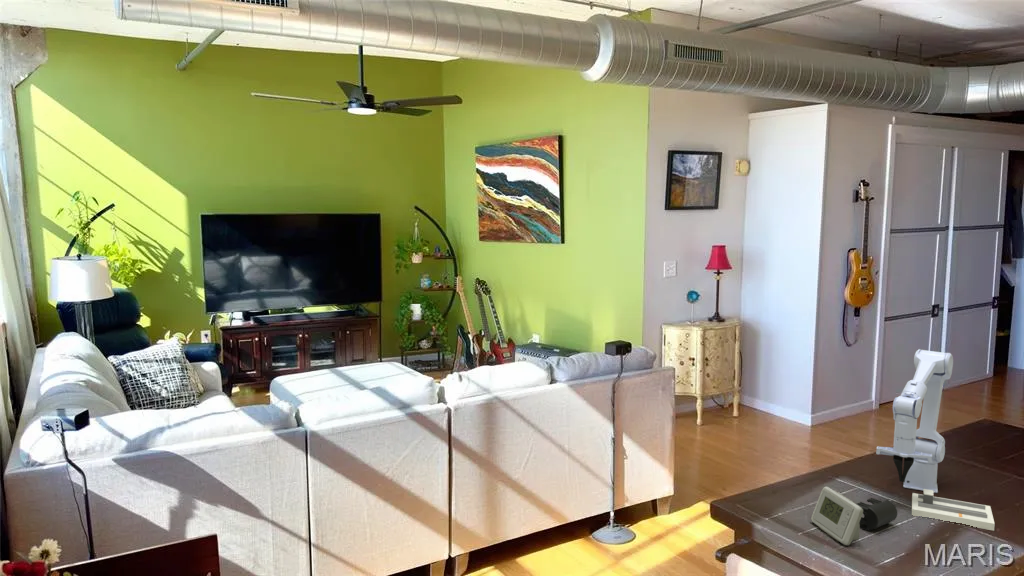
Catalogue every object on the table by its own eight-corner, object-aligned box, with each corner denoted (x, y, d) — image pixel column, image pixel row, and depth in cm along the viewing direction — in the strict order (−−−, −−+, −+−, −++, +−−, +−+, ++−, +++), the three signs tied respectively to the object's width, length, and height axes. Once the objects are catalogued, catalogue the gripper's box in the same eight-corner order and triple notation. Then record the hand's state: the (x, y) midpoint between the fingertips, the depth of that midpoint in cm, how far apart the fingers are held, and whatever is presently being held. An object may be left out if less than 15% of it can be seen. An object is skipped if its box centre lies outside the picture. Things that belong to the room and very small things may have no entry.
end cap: (877, 535, 197) (878, 511, 196) (852, 525, 203) (854, 502, 202) (897, 526, 202) (898, 503, 201) (872, 517, 208) (874, 495, 207)
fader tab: (923, 504, 212) (923, 493, 212) (922, 499, 216) (923, 488, 215) (932, 505, 211) (933, 495, 210) (932, 500, 214) (933, 490, 214)
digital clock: (808, 521, 205) (810, 485, 204) (840, 521, 205) (842, 485, 204) (832, 547, 189) (834, 508, 188) (867, 547, 189) (869, 508, 188)
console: (911, 515, 209) (912, 505, 209) (912, 499, 221) (912, 489, 221) (994, 530, 200) (994, 520, 199) (989, 512, 212) (990, 502, 211)
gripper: (877, 436, 215) (874, 480, 216) (933, 444, 208) (930, 489, 209) (878, 430, 221) (875, 473, 222) (932, 437, 214) (929, 482, 215)
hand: (901, 480), depth 216 cm, fingers closed
